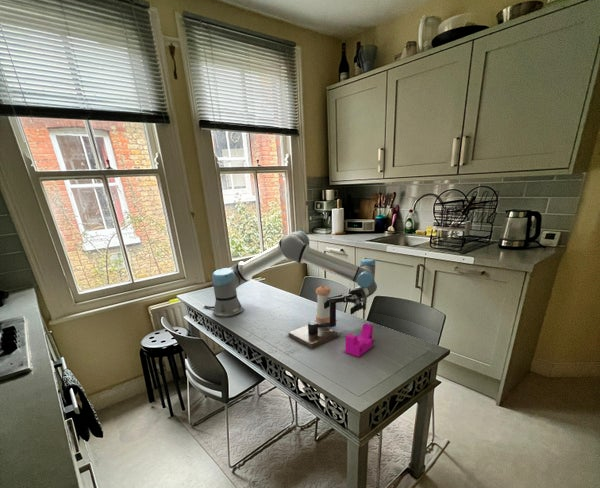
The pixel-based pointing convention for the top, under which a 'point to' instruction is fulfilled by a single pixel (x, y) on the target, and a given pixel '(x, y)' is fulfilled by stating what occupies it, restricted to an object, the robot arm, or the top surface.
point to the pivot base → (313, 336)
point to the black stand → (315, 325)
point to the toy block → (360, 341)
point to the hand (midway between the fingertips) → (337, 308)
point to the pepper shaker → (322, 305)
